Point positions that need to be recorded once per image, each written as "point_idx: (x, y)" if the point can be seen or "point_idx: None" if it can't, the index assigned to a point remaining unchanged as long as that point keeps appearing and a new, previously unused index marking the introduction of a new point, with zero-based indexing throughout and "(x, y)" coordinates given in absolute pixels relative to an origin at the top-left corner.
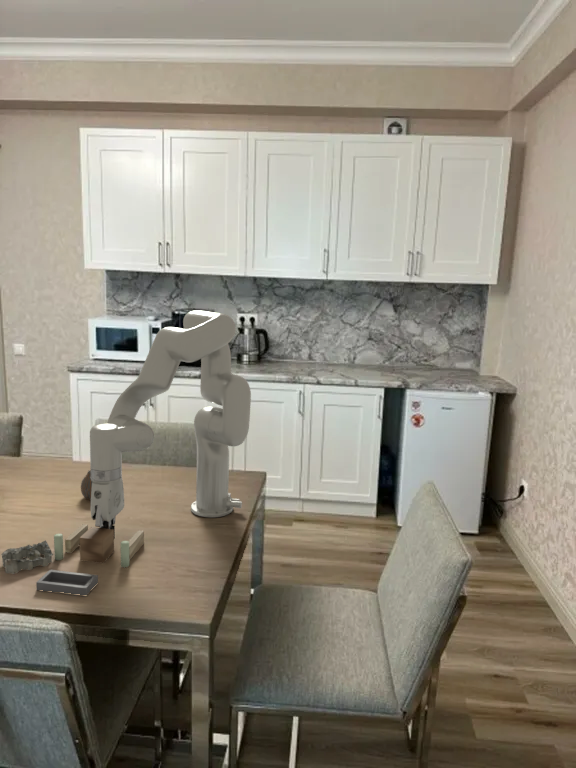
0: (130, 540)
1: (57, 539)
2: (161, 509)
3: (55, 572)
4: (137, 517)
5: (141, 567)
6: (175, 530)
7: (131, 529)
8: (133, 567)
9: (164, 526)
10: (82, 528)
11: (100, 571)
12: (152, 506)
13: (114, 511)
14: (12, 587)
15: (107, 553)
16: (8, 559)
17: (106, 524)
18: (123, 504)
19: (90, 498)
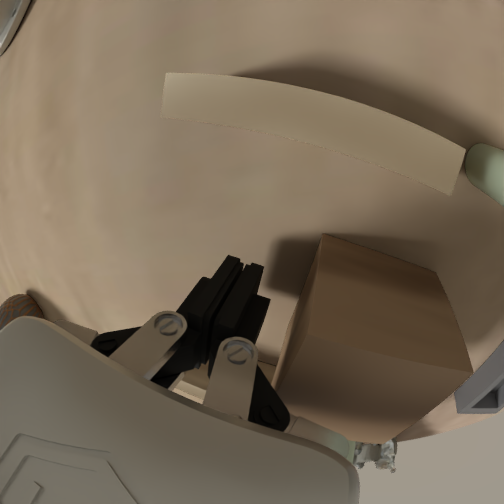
0: (361, 146)
1: (352, 463)
2: (5, 133)
3: (479, 400)
4: (39, 189)
5: (497, 83)
6: (93, 4)
7: (97, 186)
8: (498, 123)
9: (66, 62)
10: (200, 390)
11: (493, 274)
12: (3, 165)
13: (200, 488)
14: (451, 426)
15: (404, 275)
16: (392, 471)
17: (255, 392)
18: (13, 341)
19: (39, 316)
